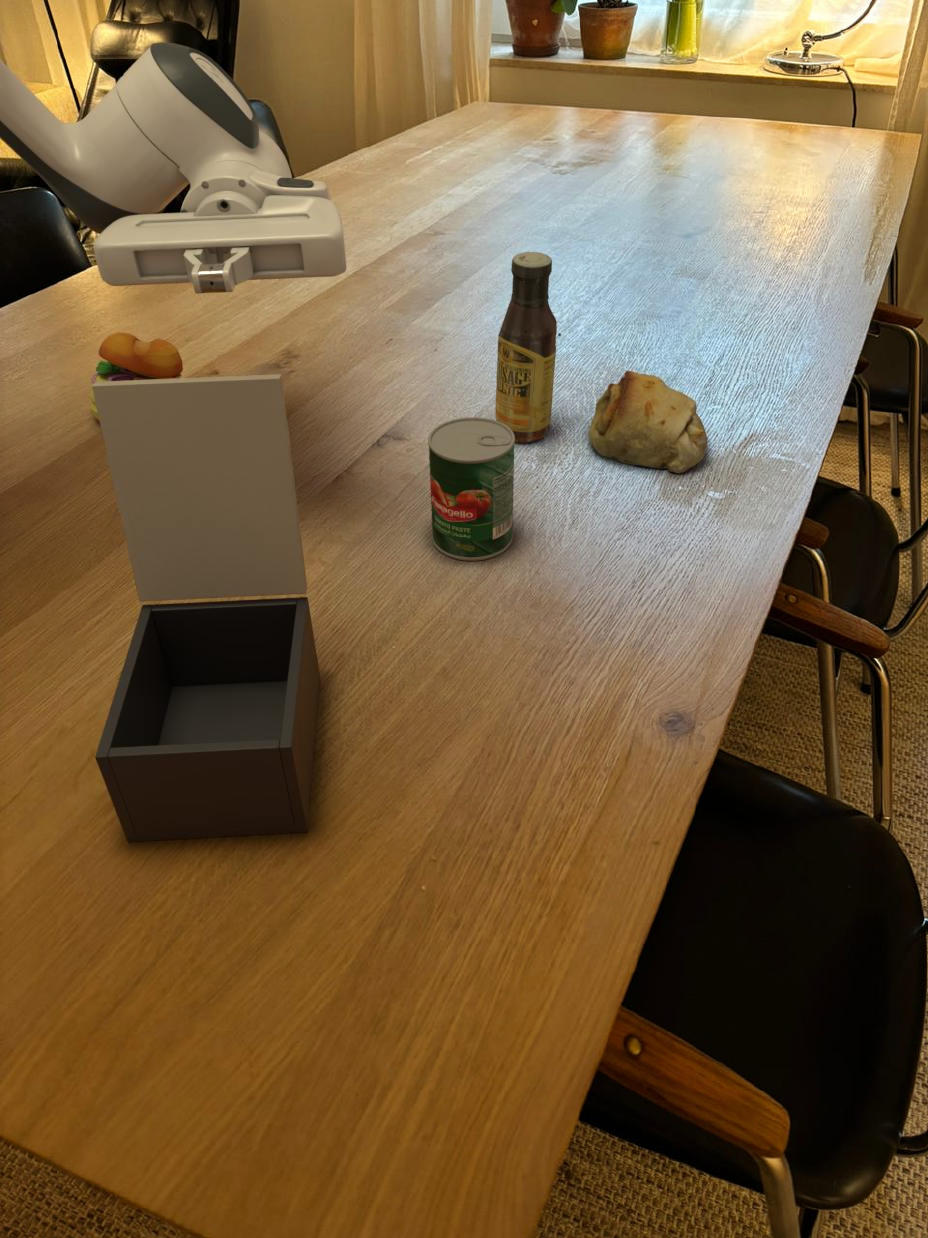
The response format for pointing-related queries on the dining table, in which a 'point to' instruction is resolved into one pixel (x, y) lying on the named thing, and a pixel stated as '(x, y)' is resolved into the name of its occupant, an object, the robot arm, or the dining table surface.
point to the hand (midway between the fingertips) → (211, 283)
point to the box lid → (204, 485)
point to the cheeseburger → (135, 361)
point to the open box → (214, 721)
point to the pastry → (648, 425)
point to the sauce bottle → (527, 351)
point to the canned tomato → (472, 487)
